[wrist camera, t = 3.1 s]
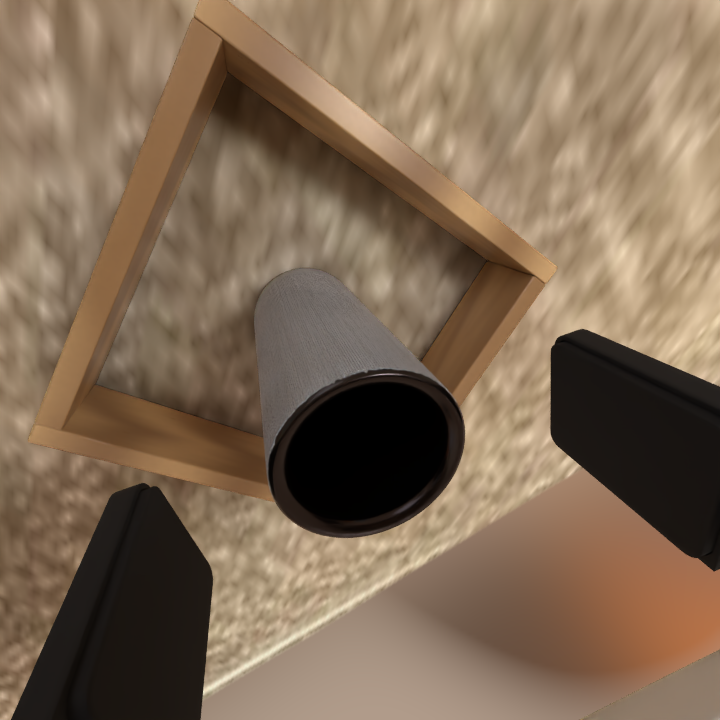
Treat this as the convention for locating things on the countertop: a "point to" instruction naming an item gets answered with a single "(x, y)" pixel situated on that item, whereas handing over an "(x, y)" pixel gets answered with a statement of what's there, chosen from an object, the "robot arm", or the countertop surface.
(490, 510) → the countertop surface
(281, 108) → the wooden square frame
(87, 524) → the countertop surface
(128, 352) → the countertop surface
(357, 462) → the planter
